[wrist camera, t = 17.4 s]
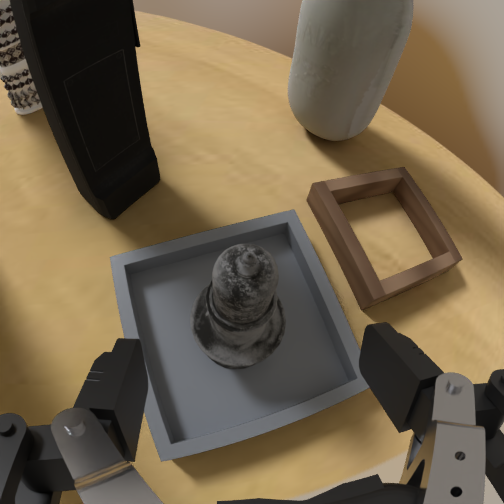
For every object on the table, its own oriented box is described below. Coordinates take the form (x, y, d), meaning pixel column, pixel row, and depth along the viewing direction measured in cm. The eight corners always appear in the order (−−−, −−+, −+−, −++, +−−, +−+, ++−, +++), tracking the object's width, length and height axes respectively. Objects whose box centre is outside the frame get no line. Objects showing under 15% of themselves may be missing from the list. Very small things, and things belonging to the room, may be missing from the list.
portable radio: (134, 147, 31) (101, -84, 9) (171, 173, 30) (150, -98, 8) (77, 192, 28) (-5, -48, 6) (109, 224, 27) (18, -66, 5)
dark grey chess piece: (291, 320, 23) (348, 236, 13) (249, 389, 20) (279, 364, 10) (223, 280, 24) (226, 170, 14) (178, 344, 22) (137, 274, 11)
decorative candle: (58, 75, 39) (31, -52, 17) (69, 94, 36) (36, -56, 14) (11, 100, 36) (-28, -24, 14) (15, 125, 33) (-35, -21, 11)
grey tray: (167, 456, 18) (161, 461, 16) (118, 271, 25) (110, 257, 22) (360, 388, 22) (374, 385, 19) (288, 225, 28) (294, 209, 26)
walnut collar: (361, 310, 25) (374, 299, 23) (306, 200, 30) (312, 183, 27) (448, 270, 27) (462, 258, 25) (394, 181, 32) (404, 166, 30)
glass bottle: (377, 138, 36) (458, -62, 11) (324, 167, 32) (409, -97, 7) (321, 96, 39) (369, -92, 14) (263, 117, 35) (300, -115, 11)
